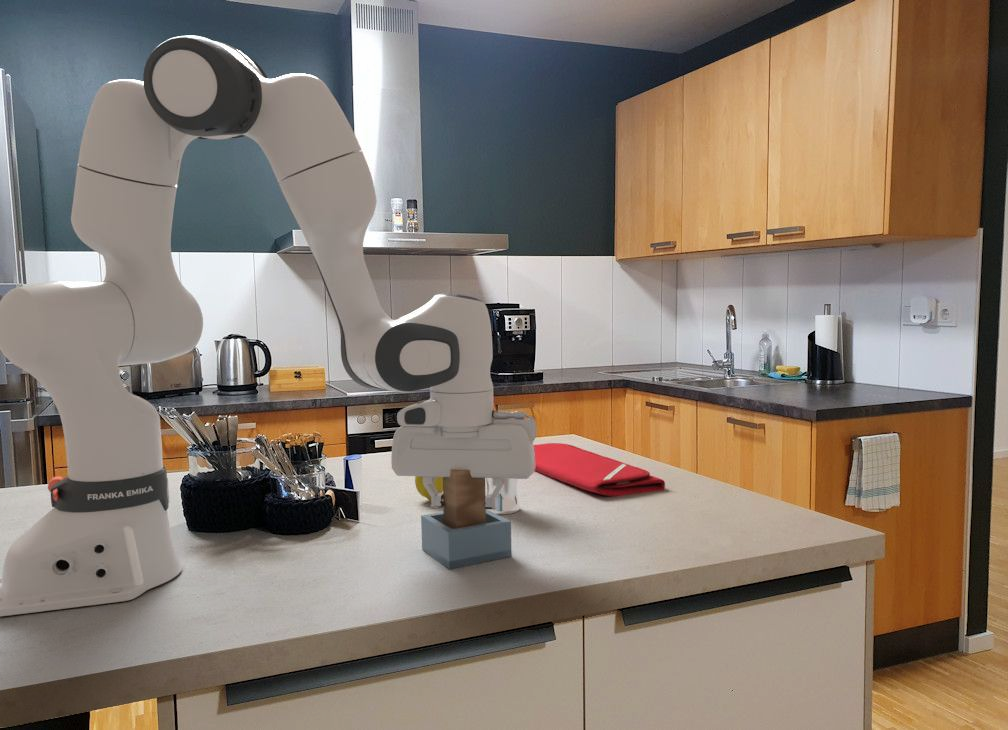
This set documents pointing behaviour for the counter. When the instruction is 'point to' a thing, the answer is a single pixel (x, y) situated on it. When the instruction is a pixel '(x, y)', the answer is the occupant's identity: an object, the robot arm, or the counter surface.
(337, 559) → the counter surface
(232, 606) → the counter surface
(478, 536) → the open box
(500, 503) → the beer glass
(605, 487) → the red folded towel
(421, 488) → the lemon
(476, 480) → the walnut block
